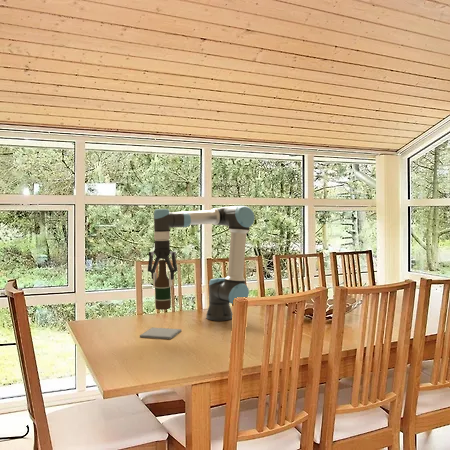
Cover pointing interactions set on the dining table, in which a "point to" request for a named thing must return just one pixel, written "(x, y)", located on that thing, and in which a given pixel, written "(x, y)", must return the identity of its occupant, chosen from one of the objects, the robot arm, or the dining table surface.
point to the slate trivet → (160, 333)
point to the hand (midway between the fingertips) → (162, 285)
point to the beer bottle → (162, 288)
